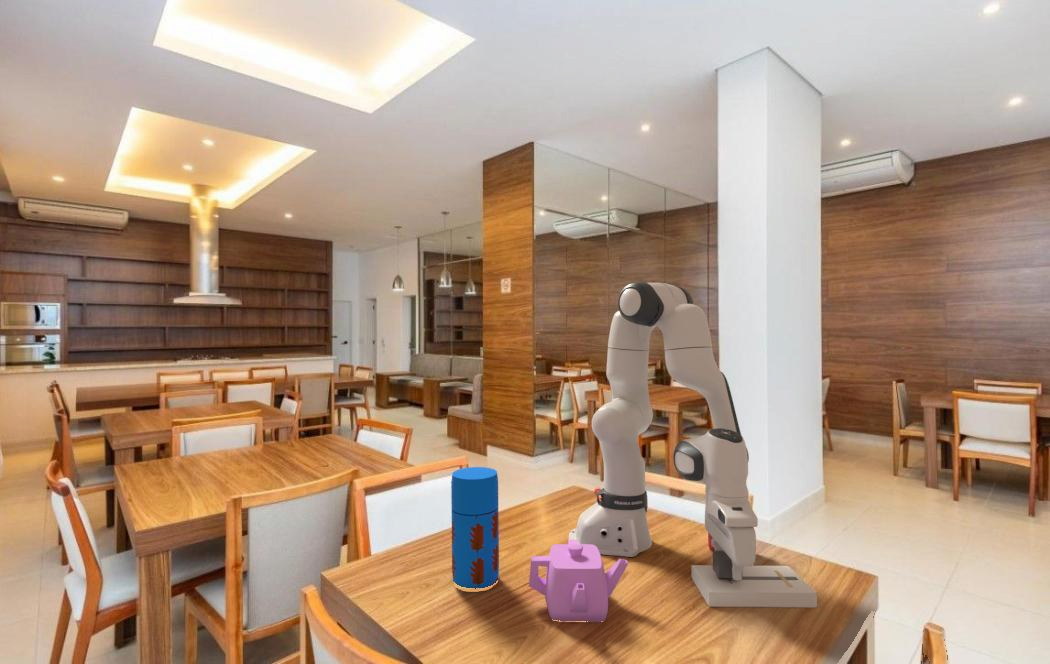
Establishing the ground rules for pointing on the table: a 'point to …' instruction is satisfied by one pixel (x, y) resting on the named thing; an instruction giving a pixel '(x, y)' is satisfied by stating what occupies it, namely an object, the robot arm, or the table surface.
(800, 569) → the table surface
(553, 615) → the teakettle
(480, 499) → the thermos
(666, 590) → the table surface
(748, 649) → the table surface
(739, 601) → the slider panel
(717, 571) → the block
